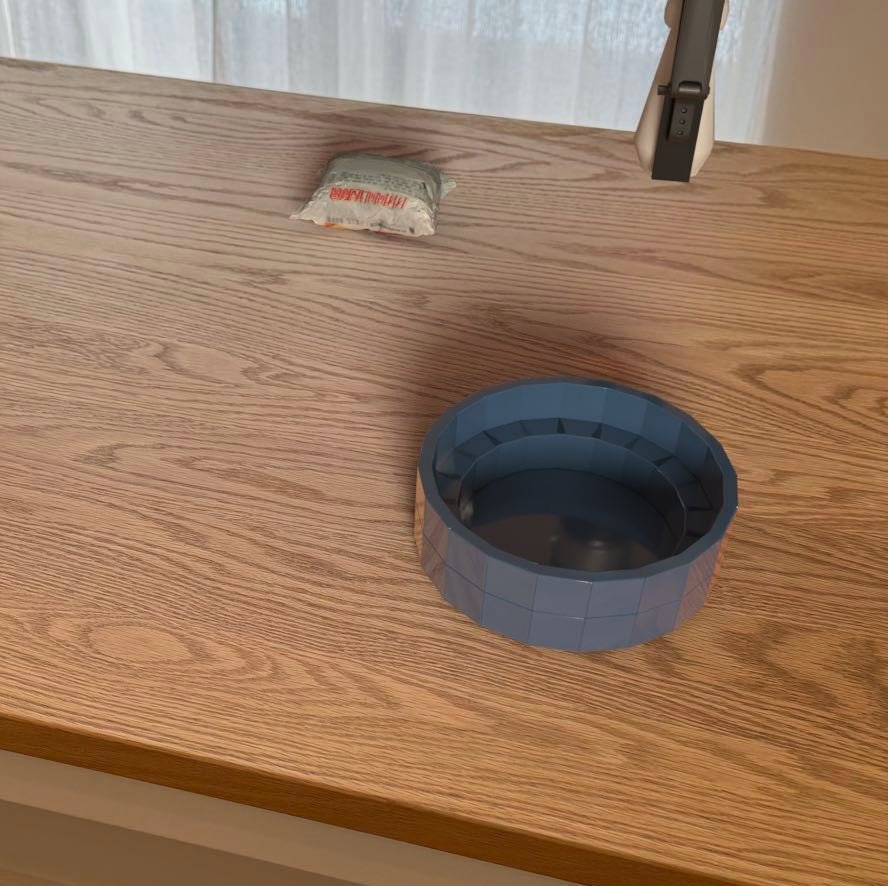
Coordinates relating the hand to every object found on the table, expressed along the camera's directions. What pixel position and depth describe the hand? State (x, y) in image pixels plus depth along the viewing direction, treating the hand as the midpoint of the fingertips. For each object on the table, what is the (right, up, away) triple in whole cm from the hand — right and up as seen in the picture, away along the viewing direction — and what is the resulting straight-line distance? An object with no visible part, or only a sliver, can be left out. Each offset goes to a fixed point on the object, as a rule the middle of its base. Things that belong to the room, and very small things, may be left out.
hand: (670, 158), depth 93 cm
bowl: (-11, -29, -20) cm, 37 cm away
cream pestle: (0, -1, +1) cm, 1 cm away
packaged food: (-22, -3, +8) cm, 24 cm away
